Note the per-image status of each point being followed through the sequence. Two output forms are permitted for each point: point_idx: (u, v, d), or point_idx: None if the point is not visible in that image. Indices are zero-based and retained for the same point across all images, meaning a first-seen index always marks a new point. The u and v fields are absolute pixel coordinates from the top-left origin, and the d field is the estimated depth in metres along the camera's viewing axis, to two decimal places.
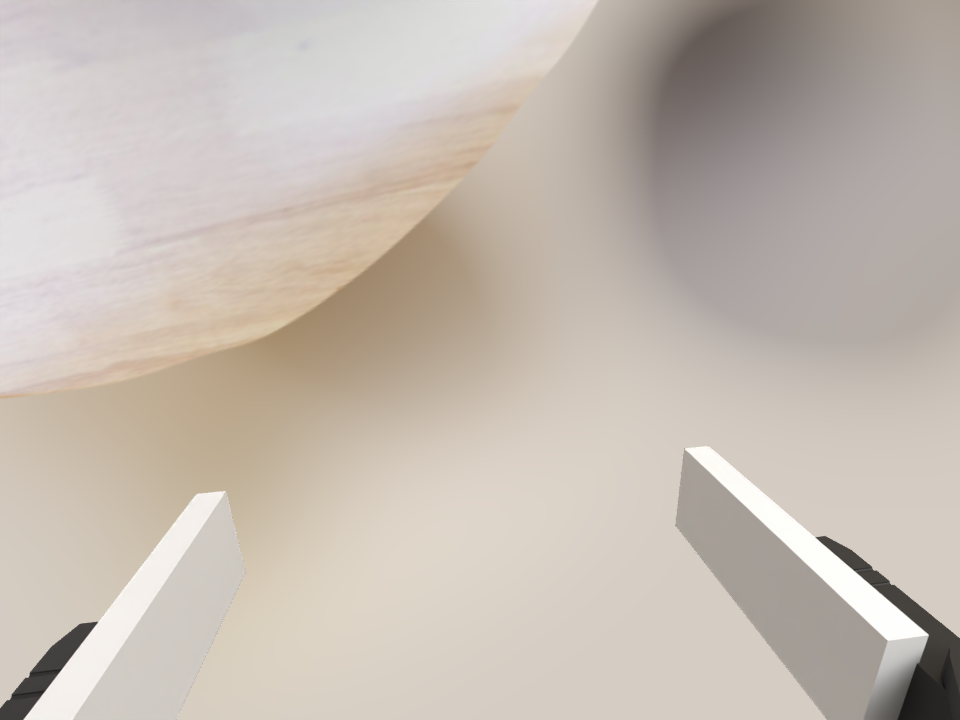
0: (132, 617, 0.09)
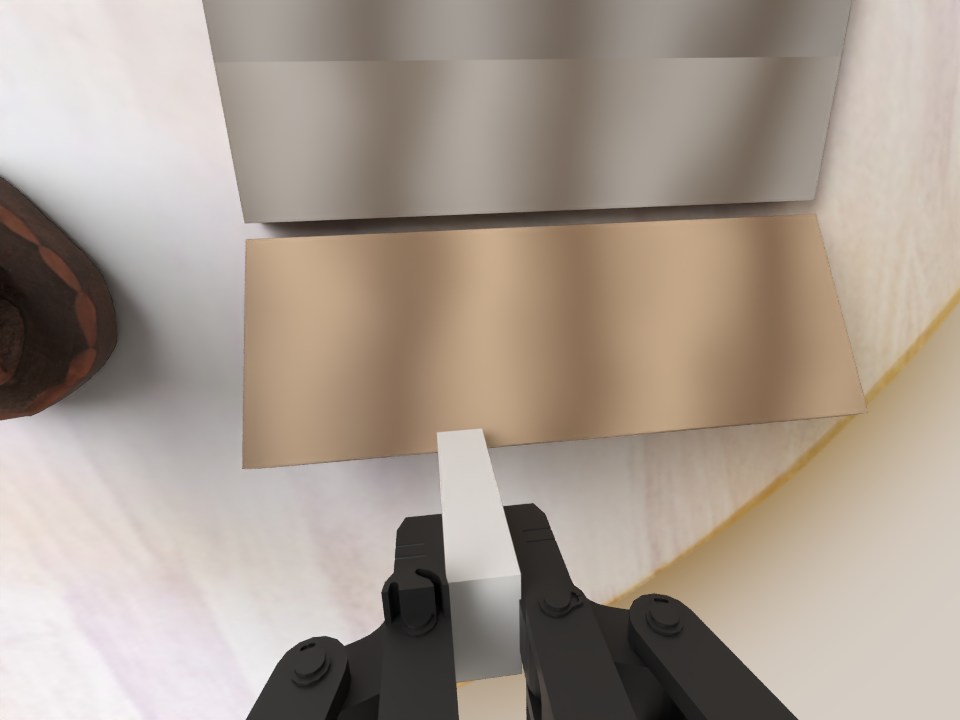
0: (465, 506, 0.12)
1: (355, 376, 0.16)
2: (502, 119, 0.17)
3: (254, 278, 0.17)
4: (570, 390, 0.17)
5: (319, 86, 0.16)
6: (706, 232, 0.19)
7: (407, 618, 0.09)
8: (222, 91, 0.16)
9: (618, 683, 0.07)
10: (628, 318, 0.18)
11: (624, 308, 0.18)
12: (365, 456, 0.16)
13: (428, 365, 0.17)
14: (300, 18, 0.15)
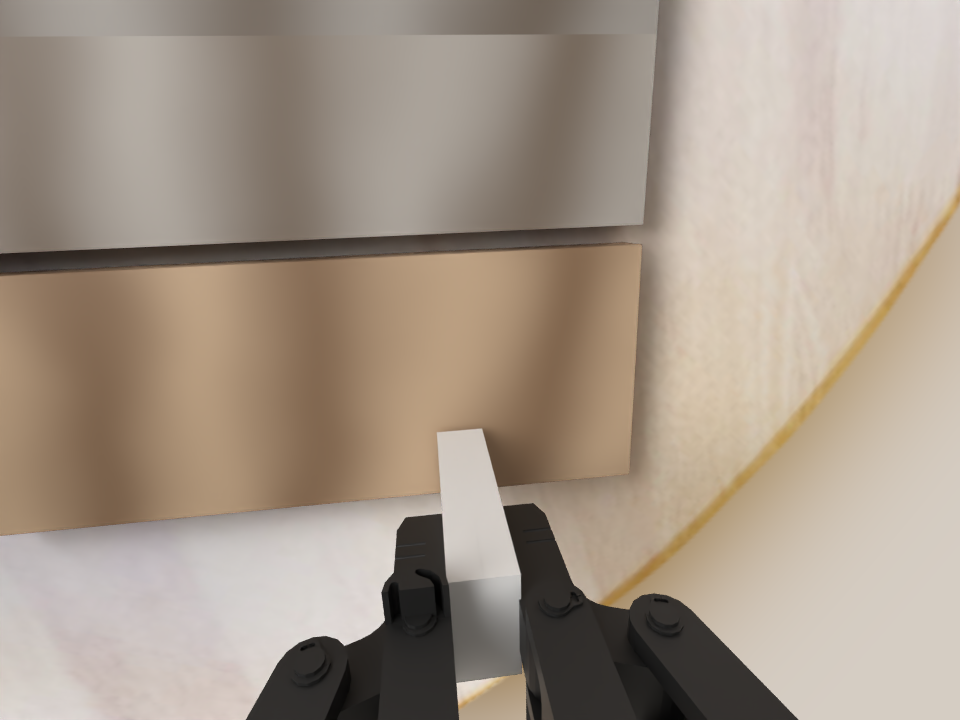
0: (465, 506, 0.12)
1: (52, 451, 0.15)
2: (183, 118, 0.12)
3: None
4: (306, 459, 0.16)
5: None
6: (490, 271, 0.15)
7: (407, 618, 0.09)
8: None
9: (618, 683, 0.07)
10: (378, 381, 0.15)
11: (374, 370, 0.15)
12: (84, 527, 0.15)
13: (137, 437, 0.15)
14: None
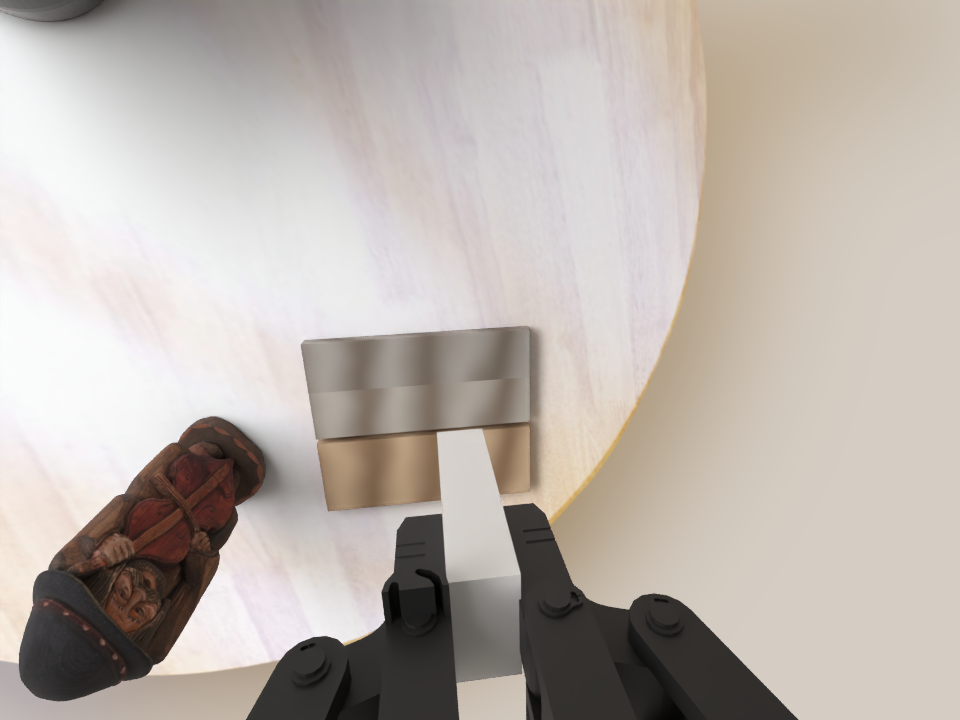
0: (465, 506, 0.12)
1: (359, 485, 0.51)
2: (406, 403, 0.48)
3: (322, 457, 0.49)
4: (430, 487, 0.52)
5: (343, 398, 0.47)
6: (485, 435, 0.50)
7: (407, 618, 0.09)
8: (310, 401, 0.47)
9: (618, 683, 0.07)
10: None
11: None
12: (364, 507, 0.51)
13: (383, 481, 0.51)
14: (337, 380, 0.47)
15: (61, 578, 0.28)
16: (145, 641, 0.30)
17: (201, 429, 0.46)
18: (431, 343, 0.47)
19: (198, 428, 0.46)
